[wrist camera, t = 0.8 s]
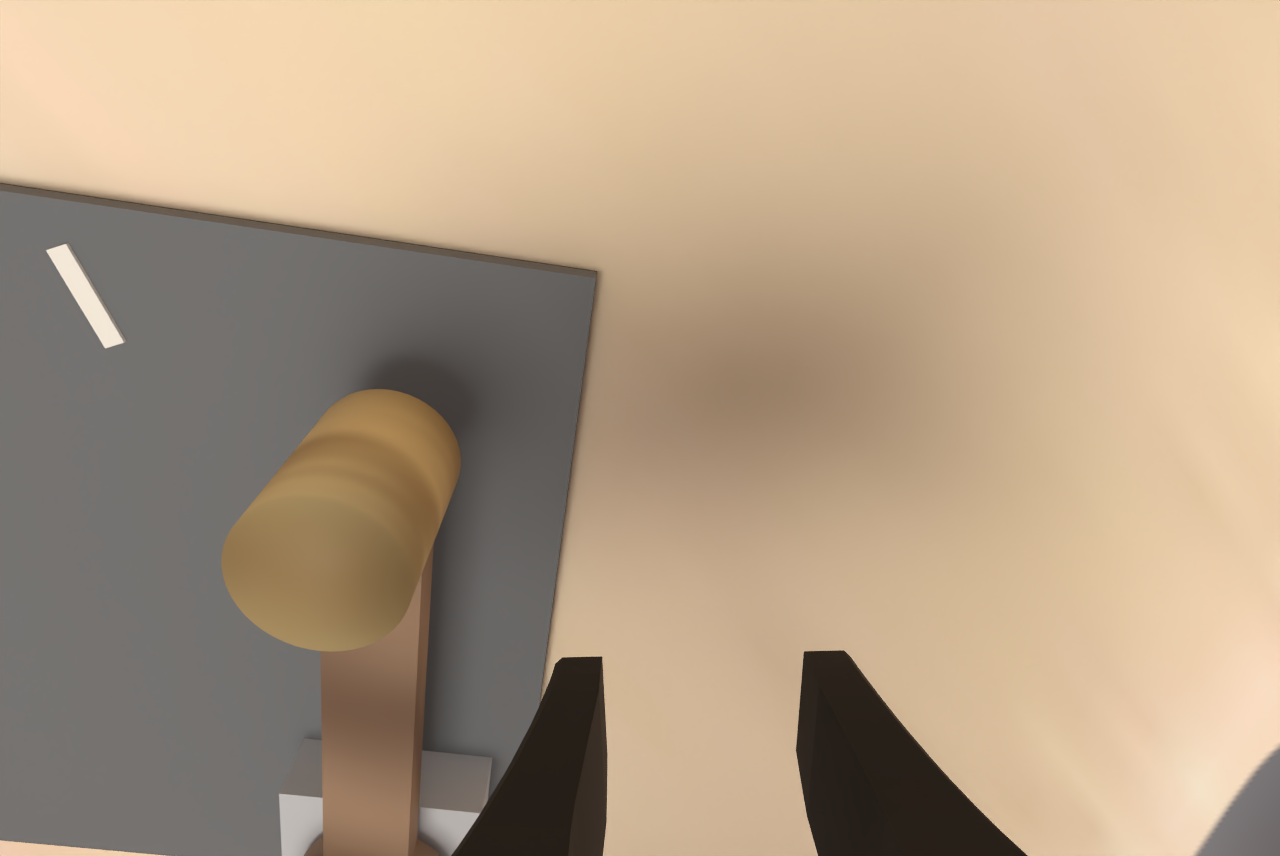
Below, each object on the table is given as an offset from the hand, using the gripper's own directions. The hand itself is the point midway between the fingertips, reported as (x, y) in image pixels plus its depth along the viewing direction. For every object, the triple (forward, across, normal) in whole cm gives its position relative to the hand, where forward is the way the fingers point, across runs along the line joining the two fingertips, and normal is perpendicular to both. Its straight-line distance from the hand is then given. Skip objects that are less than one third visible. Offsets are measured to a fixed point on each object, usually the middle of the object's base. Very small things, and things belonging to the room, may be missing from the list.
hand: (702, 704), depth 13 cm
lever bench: (+9, +13, +4) cm, 17 cm away
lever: (+6, +8, +6) cm, 12 cm away
